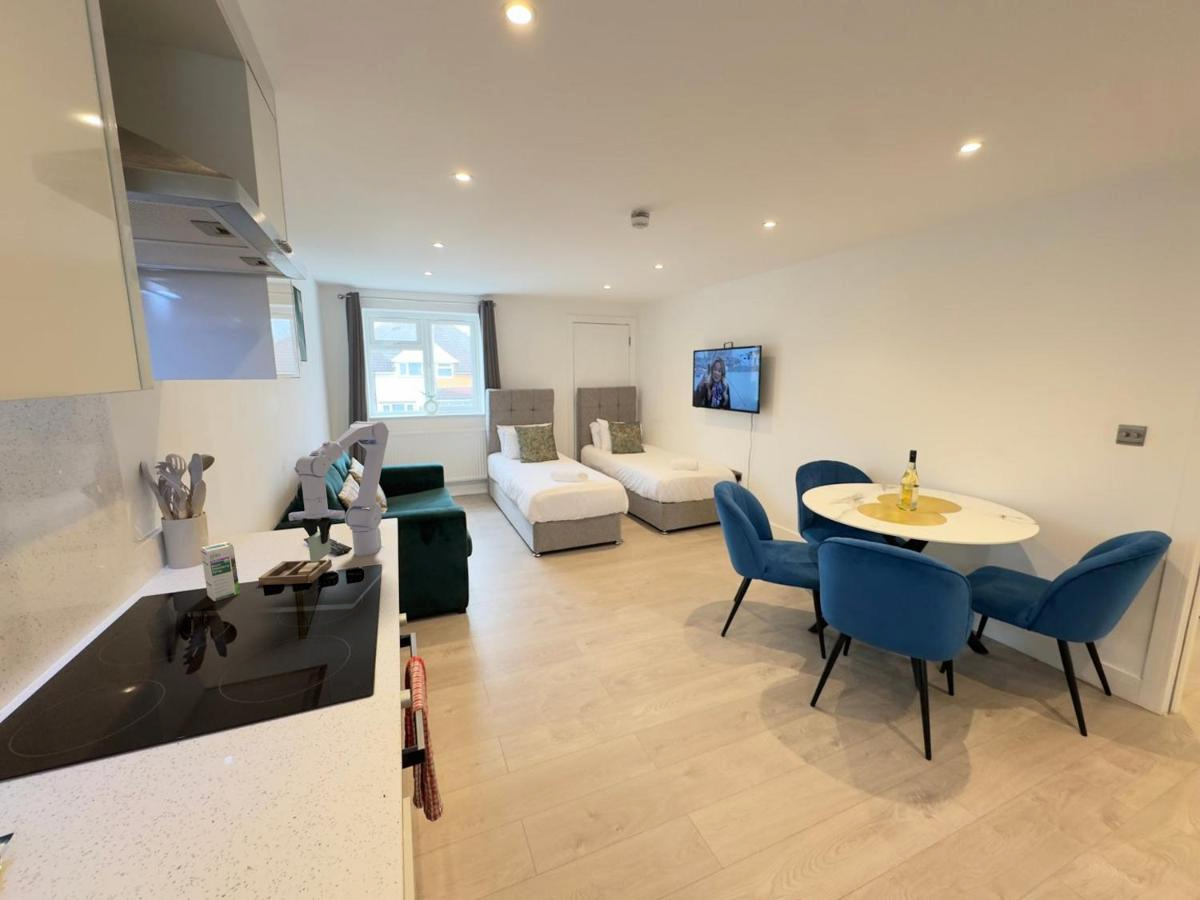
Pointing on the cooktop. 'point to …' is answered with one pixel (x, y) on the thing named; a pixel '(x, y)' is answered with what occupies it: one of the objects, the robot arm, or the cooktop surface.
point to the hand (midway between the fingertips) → (320, 543)
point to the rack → (292, 573)
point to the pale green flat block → (318, 547)
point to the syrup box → (220, 571)
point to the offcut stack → (309, 569)
